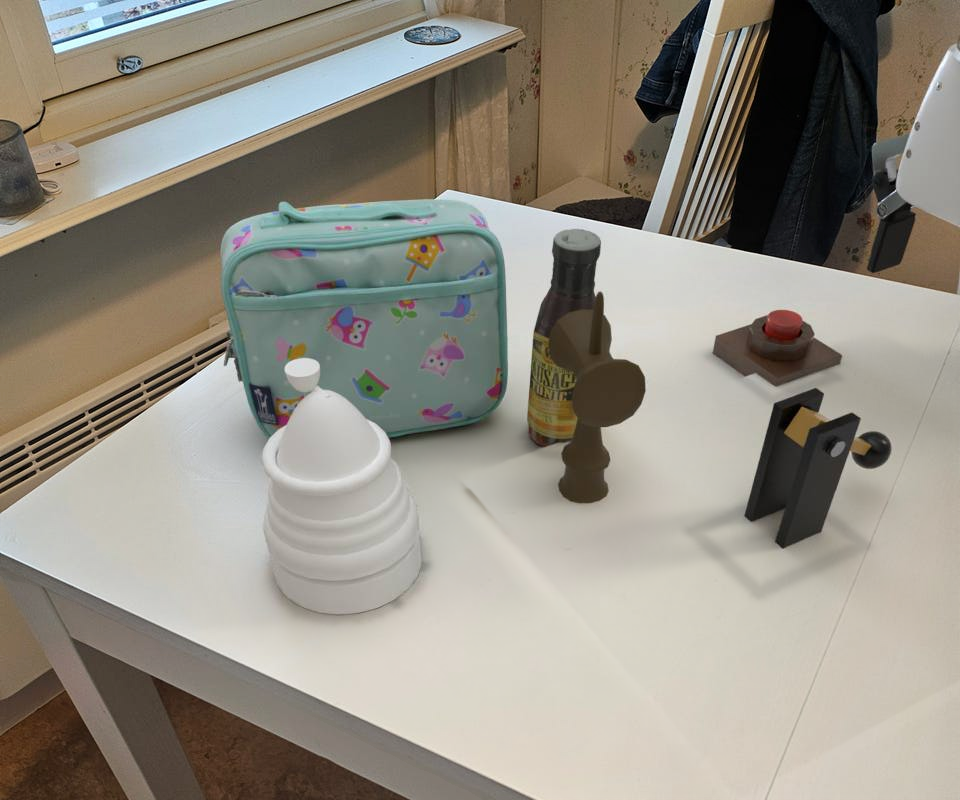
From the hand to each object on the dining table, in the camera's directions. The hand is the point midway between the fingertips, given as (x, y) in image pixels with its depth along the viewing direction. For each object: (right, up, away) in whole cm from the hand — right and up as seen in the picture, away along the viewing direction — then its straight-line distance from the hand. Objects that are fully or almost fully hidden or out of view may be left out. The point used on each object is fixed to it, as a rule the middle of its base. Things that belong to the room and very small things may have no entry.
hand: (930, 293), depth 69 cm
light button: (-2, +6, +27) cm, 28 cm away
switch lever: (-5, -11, +6) cm, 14 cm away
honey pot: (-46, -20, +9) cm, 51 cm away
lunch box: (-45, -4, +23) cm, 51 cm away
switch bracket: (-8, -17, +11) cm, 22 cm away
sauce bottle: (-27, -6, +21) cm, 35 cm away
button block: (-2, +4, +29) cm, 30 cm away
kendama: (-25, -14, +15) cm, 32 cm away
